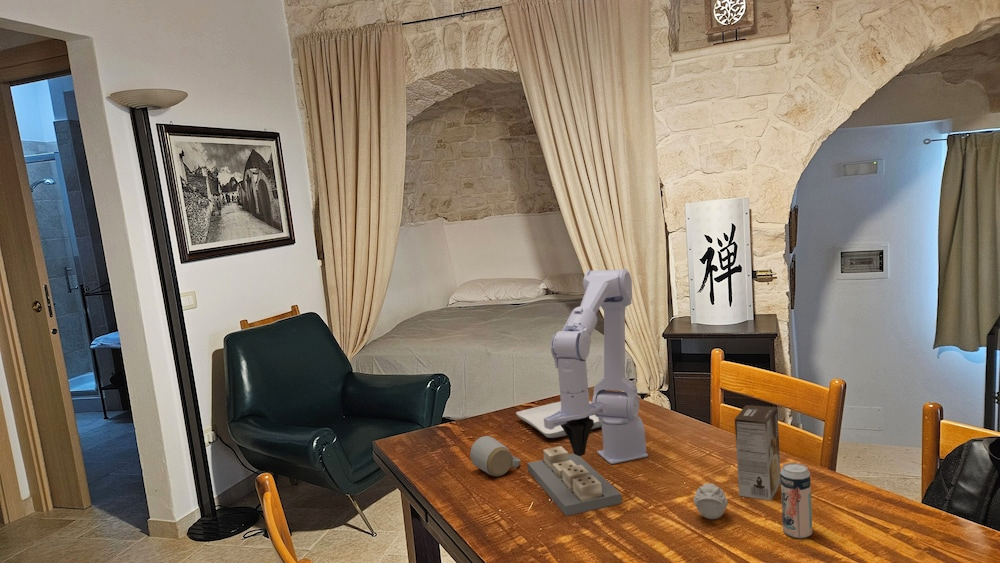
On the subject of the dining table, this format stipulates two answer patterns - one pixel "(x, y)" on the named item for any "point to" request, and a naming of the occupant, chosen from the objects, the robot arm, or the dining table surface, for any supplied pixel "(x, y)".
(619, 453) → the robot arm
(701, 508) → the frog figurine
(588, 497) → the beige square block
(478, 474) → the dining table surface
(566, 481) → the beige small block
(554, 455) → the key
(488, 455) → the ceramic mug
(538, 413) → the salad plate
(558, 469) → the cream dice block
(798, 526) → the beer can
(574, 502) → the grey slotted tray
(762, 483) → the coffee box
